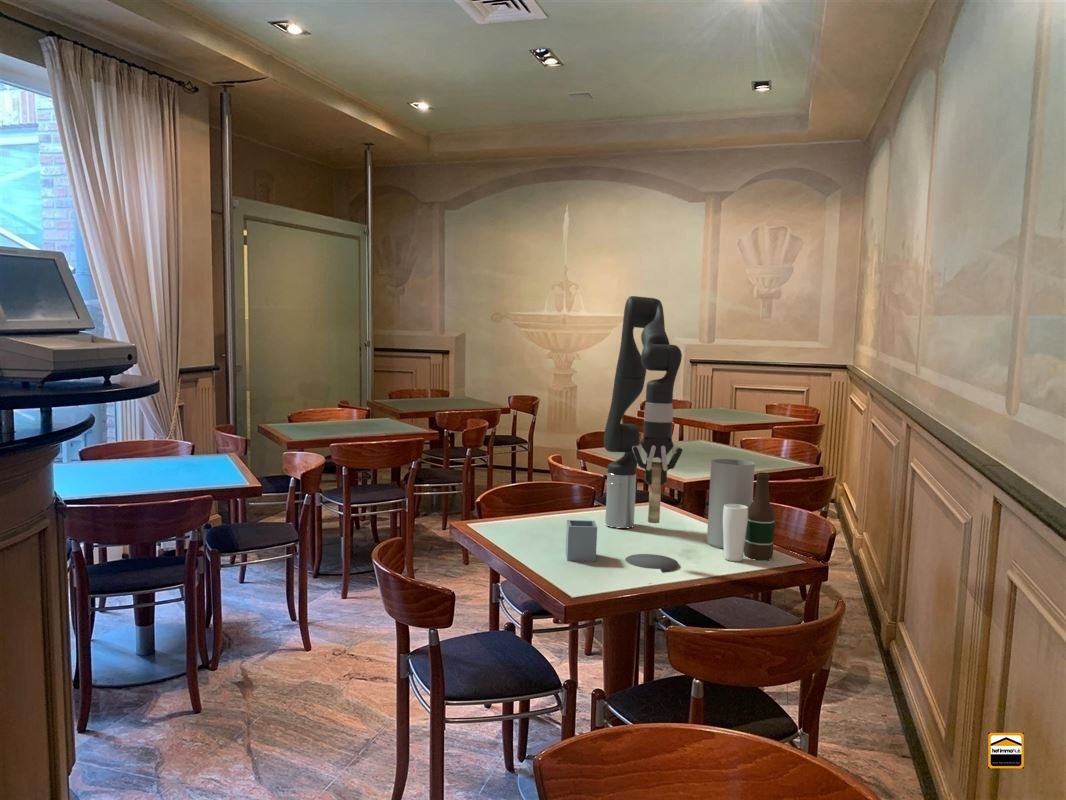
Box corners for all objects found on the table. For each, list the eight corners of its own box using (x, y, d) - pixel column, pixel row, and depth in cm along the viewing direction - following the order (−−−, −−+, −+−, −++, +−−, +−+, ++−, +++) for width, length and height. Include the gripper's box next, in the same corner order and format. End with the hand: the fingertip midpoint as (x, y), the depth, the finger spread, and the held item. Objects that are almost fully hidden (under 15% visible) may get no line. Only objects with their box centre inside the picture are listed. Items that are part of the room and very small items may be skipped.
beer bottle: (759, 562, 215) (764, 476, 213) (738, 555, 221) (742, 471, 219) (778, 559, 219) (783, 474, 217) (757, 552, 225) (761, 470, 224)
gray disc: (622, 556, 216) (622, 553, 216) (672, 557, 216) (672, 554, 216) (629, 571, 202) (629, 567, 202) (682, 572, 202) (683, 569, 202)
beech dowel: (646, 520, 210) (649, 461, 209) (658, 520, 210) (661, 462, 209) (648, 523, 207) (651, 463, 206) (660, 523, 207) (663, 463, 206)
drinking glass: (715, 556, 219) (718, 504, 218) (736, 555, 221) (738, 503, 220) (729, 563, 212) (732, 509, 211) (750, 562, 215) (753, 508, 214)
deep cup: (565, 555, 215) (566, 519, 214) (592, 556, 215) (594, 520, 214) (567, 563, 207) (568, 526, 206) (595, 564, 207) (597, 527, 206)
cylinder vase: (755, 551, 227) (760, 465, 225) (712, 549, 227) (716, 464, 225) (743, 540, 239) (747, 459, 237) (702, 538, 239) (706, 458, 237)
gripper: (681, 419, 210) (678, 482, 212) (629, 417, 210) (627, 480, 211) (687, 422, 203) (684, 487, 204) (634, 420, 203) (631, 486, 204)
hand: (655, 483), depth 208 cm, fingers closed on beech dowel, 3 cm apart
